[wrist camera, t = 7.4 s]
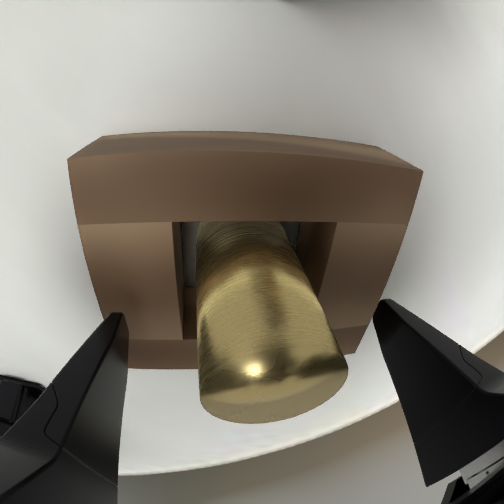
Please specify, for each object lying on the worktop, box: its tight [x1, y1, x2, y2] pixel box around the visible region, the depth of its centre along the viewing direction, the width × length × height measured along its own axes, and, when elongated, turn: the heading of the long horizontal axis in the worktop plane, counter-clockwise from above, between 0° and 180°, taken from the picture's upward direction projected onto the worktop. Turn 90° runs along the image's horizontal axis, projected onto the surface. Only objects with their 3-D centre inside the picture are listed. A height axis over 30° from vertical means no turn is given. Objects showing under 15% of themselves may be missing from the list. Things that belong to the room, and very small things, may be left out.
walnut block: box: [67, 131, 423, 369], centre depth 12 cm, size 10×12×4 cm
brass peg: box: [196, 221, 348, 424], centre depth 10 cm, size 4×4×8 cm
